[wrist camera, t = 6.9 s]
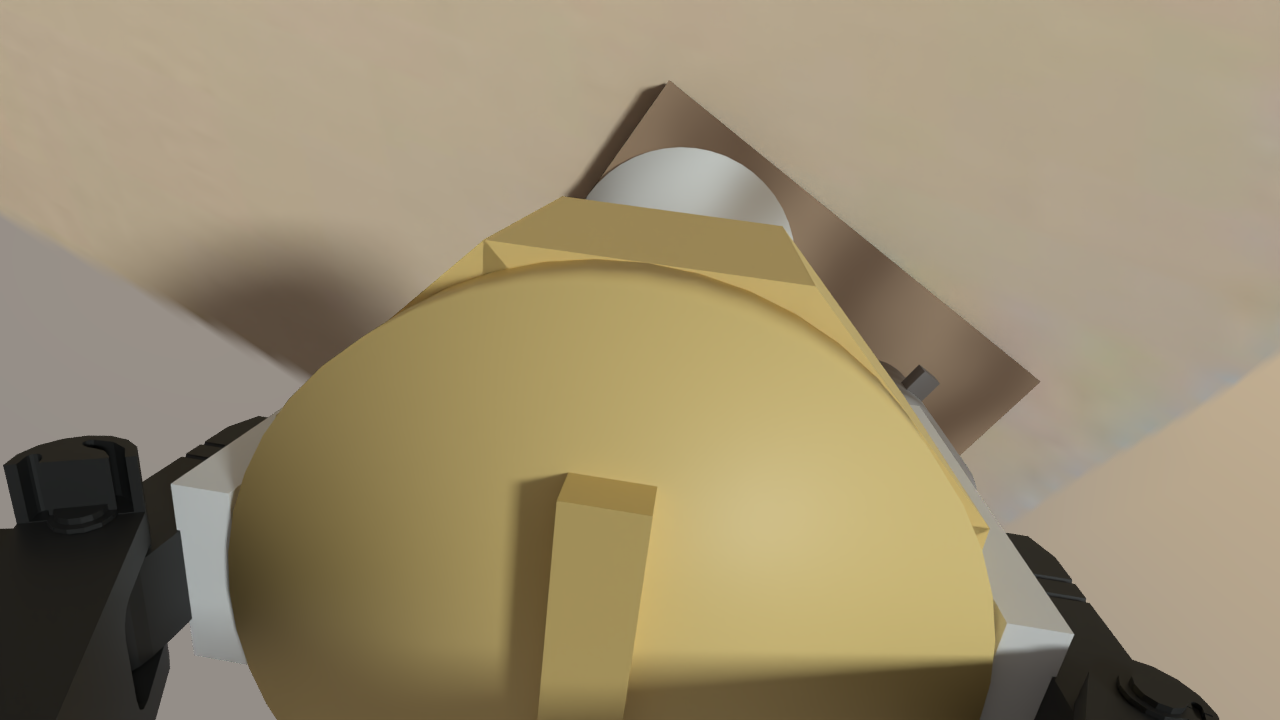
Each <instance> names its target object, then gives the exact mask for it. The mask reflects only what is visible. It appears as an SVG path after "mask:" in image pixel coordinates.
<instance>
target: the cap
mask: <svg viewBox="0 0 1280 720" xmlns="http://www.w3.org/2000/svg"><path fill="white" fill-rule="evenodd" d="M989 530H990V528H989V526H988V525H987V523H986V522H985V520H984V519H983V517H982V516H981V514H980V513H979V511H978V509H977V508H976V506H975V505H974V503H973V502H972V500H971V499H970V497H969V496H968V494H967V492H966V491H965V489H964V488H963V486H962V485H961V483H960V482H959V480H958V479H957V477H956V476H955V474H954V472H953V471H952V469H951V468H950V466H949V465H948V463H947V462H946V460H945V459H944V457H943V455H942V454H941V452H940V451H939V449H938V448H937V446H936V445H935V443H934V442H933V440H932V439H931V437H930V435H929V434H928V432H927V431H926V429H925V428H924V426H923V425H922V423H921V422H920V420H919V418H918V417H917V415H916V414H915V412H914V411H913V409H912V408H911V406H910V405H909V403H908V402H907V400H906V398H905V397H904V395H903V394H902V393H901V391H900V390H899V388H898V387H897V386H896V384H895V383H894V382H893V380H892V379H891V377H890V376H889V375H888V373H887V372H886V370H885V369H884V368H883V366H882V365H881V363H880V362H879V361H878V359H877V358H876V356H875V355H874V354H873V352H872V351H871V349H870V348H869V347H868V345H867V344H866V342H865V341H864V340H863V338H862V337H861V335H860V334H859V333H858V331H857V330H856V328H855V327H854V326H853V324H852V323H851V321H850V320H849V319H848V317H847V316H846V314H845V313H844V312H843V310H842V309H841V307H840V306H839V305H838V303H837V302H836V300H835V299H834V298H833V296H832V295H831V293H830V292H829V291H828V289H827V288H826V286H825V285H824V284H823V282H822V281H821V279H820V278H819V277H818V275H817V274H816V272H815V271H814V270H813V268H812V267H811V265H810V264H809V263H808V261H807V260H806V258H805V257H804V256H803V254H802V253H801V251H800V250H799V249H798V247H797V246H796V244H795V243H794V242H793V240H792V239H791V237H790V236H789V235H788V233H787V232H786V230H785V229H784V228H783V226H777V225H770V224H763V223H755V222H748V221H741V220H733V219H726V218H718V217H711V216H704V215H696V214H689V213H682V212H674V211H667V210H659V209H652V208H645V207H637V206H630V205H623V204H615V203H608V202H600V201H593V200H586V199H578V198H571V197H564V196H562V197H561V198H559V199H557V200H555V201H553V202H551V203H550V204H548V205H546V206H544V207H542V208H541V209H539V210H537V211H535V212H533V213H531V214H530V215H528V216H526V217H524V218H522V219H521V220H519V221H517V222H515V223H513V224H511V225H510V226H508V227H506V228H504V229H502V230H501V231H499V232H497V233H495V234H493V235H491V236H490V237H488V238H486V239H484V240H483V241H482V242H481V243H480V244H478V245H477V246H476V247H475V248H474V249H472V250H471V251H470V252H469V253H468V254H466V255H465V256H464V257H463V258H462V259H461V260H459V261H458V262H457V263H456V264H455V265H453V266H452V267H451V268H450V269H449V270H448V271H446V272H445V273H444V274H443V275H442V276H440V277H439V278H438V279H437V280H436V281H434V282H433V283H432V284H431V285H430V286H429V287H427V288H426V289H425V290H424V291H423V292H421V293H420V294H419V295H418V296H417V297H415V298H414V299H413V300H412V301H411V302H410V303H408V304H407V305H406V306H405V307H404V308H402V309H401V310H400V311H399V312H398V313H397V314H395V315H394V316H393V317H392V318H391V319H389V320H388V321H387V322H385V323H384V324H382V325H381V326H379V327H377V328H376V329H374V330H373V331H371V332H370V333H368V334H366V335H365V336H363V337H362V338H360V339H359V340H358V341H356V342H355V343H353V344H352V345H351V346H349V347H348V348H346V349H345V350H344V351H342V352H341V353H339V354H338V355H337V356H335V357H334V358H333V359H331V360H330V361H328V362H327V363H326V364H324V365H323V366H322V367H321V368H320V369H319V370H318V371H317V372H316V373H315V374H314V375H313V376H312V377H311V378H310V379H309V380H308V381H307V382H306V383H305V384H304V385H303V386H302V387H301V388H300V389H299V390H298V391H297V392H296V393H295V394H294V395H293V396H292V397H290V398H289V400H288V401H287V402H286V404H285V405H284V407H283V408H282V409H281V411H280V412H279V413H278V414H277V415H276V418H275V419H274V421H273V422H272V423H271V425H270V426H269V428H268V429H267V430H266V432H265V433H264V435H263V436H262V438H261V441H260V443H259V445H258V447H257V449H256V451H255V453H254V455H253V457H252V459H251V461H250V463H249V465H248V467H247V469H246V471H245V473H244V477H243V480H242V484H241V487H240V490H239V494H238V497H237V501H236V504H235V507H234V511H233V517H232V525H231V533H230V541H229V549H228V564H229V592H230V597H231V603H232V608H233V614H234V619H235V624H236V630H237V633H238V636H239V639H240V642H241V645H242V648H243V651H244V654H245V657H246V660H247V663H248V666H249V669H250V671H251V673H252V675H253V677H254V679H255V681H256V683H257V685H258V687H259V689H260V691H261V693H262V695H263V698H264V700H265V702H266V704H267V705H268V707H269V708H270V710H271V711H272V713H273V714H274V716H275V717H276V719H277V720H980V717H981V714H982V710H983V707H984V704H985V700H986V697H987V693H988V690H989V687H990V683H991V674H992V665H993V657H994V648H995V626H994V609H993V595H992V591H991V586H990V582H989V578H988V573H987V569H986V565H985V560H984V556H983V552H982V550H983V547H984V544H985V541H986V538H987V535H988V533H989Z"/></svg>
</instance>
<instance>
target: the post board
mask: <svg viewBox="0 0 1280 720" xmlns="http://www.w3.org/2000/svg"><path fill="white" fill-rule="evenodd" d="M586 200H593V201H600V202H608V203H615V204H623V205H630V206H637V207H645V208H652V209H659V210H667V211H674V212H682V213H689V214H696V215H704V216H711V217H718V218H726V219H733V220H741V221H748V222H755V223H763V224H770V225H777V226H783V228H784V229H785V230H786V232H787V233H788V235H789V236H790V237H791V239H792V240H793V242H794V243H795V244H796V246H797V247H798V249H799V250H800V251H801V253H802V254H803V256H804V257H805V258H806V260H807V261H808V263H809V264H810V265H811V267H812V268H813V270H814V271H815V272H816V274H817V275H818V277H819V278H820V279H821V281H822V282H823V284H824V285H825V286H826V288H827V289H828V291H829V292H830V293H831V295H832V296H833V298H834V299H835V300H836V302H837V303H838V305H839V306H840V307H841V309H842V310H843V312H844V313H845V314H846V316H847V317H848V319H849V320H850V321H851V323H852V324H853V326H854V327H855V328H856V330H857V331H858V333H859V334H860V335H861V337H862V338H863V340H864V341H865V342H866V344H867V345H868V347H869V348H870V349H871V351H872V352H873V354H874V355H875V356H876V358H877V359H878V361H879V362H880V363H881V365H882V366H883V368H884V369H885V370H886V372H887V373H888V375H889V376H890V377H891V379H892V380H893V382H894V383H895V384H896V386H897V387H898V388H899V390H900V391H901V393H902V394H903V395H904V397H905V398H906V400H907V402H908V403H909V405H916V406H920V408H921V409H922V410H923V412H924V413H925V415H926V416H927V418H928V419H929V421H930V422H931V424H932V425H933V427H934V428H935V430H936V431H937V433H938V434H939V436H940V437H941V439H942V440H943V441H944V443H945V444H946V446H947V447H948V449H949V450H950V452H951V453H952V455H953V456H954V458H955V459H956V461H957V462H958V464H959V465H960V467H961V468H962V469H963V471H964V472H965V474H966V475H967V477H968V478H969V480H970V481H971V483H972V484H973V486H974V487H975V489H976V485H975V481H974V478H973V476H972V474H971V472H970V470H969V469H968V467H967V466H966V464H965V463H964V461H963V460H962V458H961V457H960V455H961V454H962V453H963V452H964V451H965V450H966V449H967V448H969V447H970V446H971V445H972V444H973V443H974V442H975V441H976V440H977V439H978V438H979V437H981V436H982V435H983V434H984V433H985V432H986V431H987V430H988V429H989V428H990V427H991V426H993V425H994V424H995V423H996V422H997V421H998V420H999V419H1000V418H1001V417H1002V416H1004V415H1005V414H1006V413H1007V412H1008V411H1009V410H1010V409H1011V408H1012V407H1013V406H1014V405H1016V404H1017V403H1018V402H1019V401H1020V400H1021V399H1022V398H1023V397H1024V396H1025V395H1026V394H1028V393H1029V392H1030V391H1031V390H1032V389H1033V388H1034V387H1035V386H1036V385H1037V384H1039V383H1040V381H1039V380H1038V379H1036V378H1035V377H1034V376H1033V375H1032V374H1031V373H1029V372H1028V371H1027V370H1026V369H1024V368H1023V367H1022V366H1021V365H1019V364H1018V363H1017V362H1016V361H1014V360H1013V359H1012V358H1011V357H1010V356H1008V355H1007V354H1006V353H1005V352H1003V351H1002V350H1001V349H1000V348H998V347H997V346H996V345H995V344H994V343H992V342H991V341H990V340H989V339H987V338H986V337H985V336H984V335H982V334H981V333H980V332H979V331H978V330H976V329H975V328H974V327H973V326H971V325H970V324H969V323H968V322H966V321H965V320H964V319H963V318H962V317H960V316H959V315H958V314H957V313H955V312H954V311H953V310H952V309H950V308H949V307H948V306H947V305H945V304H944V303H943V302H942V301H941V300H939V299H938V298H937V297H936V296H934V295H933V294H932V293H931V292H929V291H928V290H927V289H926V288H925V287H923V286H922V285H921V284H920V283H918V282H917V281H916V280H915V279H913V278H912V277H911V276H910V275H909V274H907V273H906V272H905V271H904V270H902V269H901V268H900V267H899V266H897V265H896V264H895V263H894V262H892V261H891V260H890V259H889V258H888V257H886V256H885V255H884V254H883V253H881V252H880V251H879V250H878V249H876V248H875V247H874V246H873V245H872V244H870V243H869V242H868V241H867V240H865V239H864V238H863V237H862V236H860V235H859V234H858V233H857V232H856V231H854V230H853V229H852V228H851V227H849V226H848V225H847V224H846V223H844V222H843V221H842V220H841V219H840V218H838V217H837V216H836V215H835V214H833V213H832V212H831V211H830V210H828V209H827V208H826V207H825V206H823V205H822V204H821V203H820V202H819V201H817V200H816V199H815V198H814V197H812V196H811V195H810V194H809V193H807V192H806V191H805V190H804V189H803V188H801V187H800V186H799V185H798V184H796V183H795V182H794V181H793V180H791V179H790V178H789V177H788V176H787V175H785V174H784V173H783V172H782V171H780V170H779V169H778V168H777V167H775V166H774V165H773V164H772V163H771V162H769V161H768V160H767V159H766V158H764V157H763V156H762V155H761V154H759V153H758V152H757V151H756V150H754V149H753V148H752V147H751V146H750V145H748V144H747V143H746V142H745V141H743V140H742V139H741V138H740V137H738V136H737V135H736V134H735V133H734V132H732V131H731V130H730V129H729V128H727V127H726V126H725V125H724V124H722V123H721V122H720V121H719V120H718V119H716V118H715V117H714V116H713V115H711V114H710V113H709V112H708V111H706V110H705V109H704V108H703V107H701V106H700V105H699V104H698V103H697V102H695V101H694V100H693V99H692V98H690V97H689V96H688V95H687V94H685V93H684V92H683V91H682V90H681V89H679V88H678V87H677V86H676V85H674V84H673V83H672V82H671V81H668V83H667V84H666V86H665V87H664V88H663V90H662V91H661V93H660V94H659V95H658V97H657V98H656V100H655V101H654V103H653V104H652V105H651V107H650V108H649V110H648V111H647V113H646V114H645V115H644V117H643V118H642V120H641V121H640V123H639V124H638V125H637V127H636V128H635V130H634V131H633V132H632V134H631V135H630V137H629V138H628V140H627V141H626V142H625V144H624V145H623V147H622V148H621V150H620V151H619V152H618V154H617V155H616V157H615V158H614V159H613V161H612V162H611V164H610V165H609V167H608V168H607V169H606V171H605V172H604V174H603V175H602V177H601V178H600V179H599V181H598V182H597V184H596V185H595V186H594V188H593V189H592V191H591V192H590V193H589V195H588V196H587V197H586Z"/></svg>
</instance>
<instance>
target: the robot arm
mask: <svg viewBox="0 0 1280 720" xmlns="http://www.w3.org/2000/svg"><path fill="white" fill-rule="evenodd" d="M910 406H911V408H912V409H913V411H914V412H915V414H916V415H917V417H918V418H919V420H920V422H921V423H922V425H923V426H924V428H925V429H926V431H927V432H928V434H929V435H930V437H931V439H932V440H933V442H934V443H935V445H936V446H937V448H938V449H939V451H940V452H941V454H942V455H943V457H944V459H945V460H946V462H947V463H948V465H949V466H950V468H951V469H952V471H953V472H954V474H955V476H956V477H957V479H958V480H959V482H960V483H961V485H962V486H963V488H964V489H965V491H966V492H967V494H968V496H969V497H970V499H971V500H972V502H973V503H974V505H975V506H976V508H977V509H978V511H979V513H980V514H981V516H982V517H983V519H984V520H985V522H986V523H987V525H988V526H989V528H990V530H989V533H988V535H987V538H986V541H985V544H984V547H983V550H982V552H983V556H984V560H985V565H986V569H987V573H988V578H989V582H990V586H991V591H992V595H993V609H994V626H995V648H994V657H993V665H992V674H991V683H990V687H989V690H988V693H987V697H986V700H985V704H984V707H983V710H982V714H981V717H980V720H1219V717H1218V715H1217V714H1216V713H1215V712H1214V711H1213V710H1212V709H1211V707H1210V706H1209V705H1208V704H1207V703H1206V702H1205V701H1204V700H1203V699H1202V698H1201V697H1200V696H1199V695H1198V694H1196V693H1195V692H1193V691H1192V690H1191V689H1190V688H1188V687H1187V686H1185V685H1184V684H1182V683H1181V682H1180V681H1179V680H1177V679H1175V678H1173V677H1171V676H1170V675H1168V674H1166V673H1164V672H1162V671H1160V670H1158V669H1156V668H1154V667H1152V666H1149V665H1146V664H1143V663H1140V662H1137V661H1134V660H1132V659H1131V658H1130V656H1129V655H1128V654H1127V653H1126V651H1125V650H1124V648H1123V647H1122V646H1121V644H1120V643H1119V642H1118V640H1117V639H1116V638H1115V636H1114V635H1113V634H1112V632H1111V631H1110V630H1109V628H1108V627H1107V626H1106V624H1105V623H1104V622H1103V621H1102V619H1101V618H1100V616H1099V615H1098V614H1097V612H1096V611H1095V610H1094V608H1093V607H1092V606H1091V605H1090V603H1086V598H1085V596H1084V595H1083V594H1082V592H1081V591H1080V590H1079V588H1078V587H1077V586H1076V585H1075V584H1072V579H1071V578H1070V576H1069V575H1068V574H1067V572H1066V571H1065V570H1064V569H1063V567H1062V566H1061V564H1059V562H1058V561H1057V559H1056V558H1055V557H1054V556H1053V555H1051V554H1050V553H1049V552H1048V551H1046V550H1045V549H1044V548H1042V547H1041V546H1040V545H1038V544H1037V543H1036V542H1035V541H1033V540H1032V539H1031V538H1029V537H1028V536H1023V535H1016V534H1010V533H1005V531H1004V530H1003V529H1002V527H1001V526H1000V524H999V523H998V521H997V520H996V518H995V517H994V515H993V514H992V512H991V511H990V509H989V508H988V506H987V505H986V503H985V502H984V500H983V499H982V498H981V496H980V495H979V493H978V492H977V490H976V489H975V487H974V486H973V484H972V483H971V481H970V480H969V478H968V477H967V475H966V474H965V472H964V471H963V469H962V468H961V467H960V465H959V464H958V462H957V461H956V459H955V458H954V456H953V455H952V453H951V452H950V450H949V449H948V447H947V446H946V444H945V443H944V441H943V440H942V439H941V437H940V436H939V434H938V433H937V431H936V430H935V428H934V427H933V425H932V424H931V422H930V421H929V419H928V418H927V416H926V415H925V413H924V412H923V410H922V409H921V408H920V406H916V405H910ZM281 409H282V408H281ZM281 409H280V410H278V411H277V412H275V413H274V414H273V415H271V416H270V417H268V418H267V417H261V416H258V417H255V418H252V419H249V420H246V421H243V422H241V423H238V424H235V425H232V426H229V427H227V428H225V429H224V430H222V431H221V432H219V433H218V434H216V435H215V436H213V437H211V438H210V439H208V440H207V441H205V444H204V445H199V446H198V447H196V448H194V449H193V450H191V451H190V452H188V453H187V454H186V457H180V458H179V459H177V460H176V461H174V462H173V463H171V464H170V465H168V466H167V467H165V468H163V469H162V470H160V471H159V472H157V473H156V474H154V475H153V476H151V477H149V478H148V479H146V480H145V481H143V482H142V476H141V470H140V463H139V457H138V450H137V446H135V445H134V444H133V443H131V442H130V441H129V440H126V439H121V438H117V437H113V436H82V437H74V438H66V439H61V440H57V441H53V442H50V443H45V444H42V445H38V446H36V447H33V448H31V449H29V450H27V451H24V452H22V453H19V454H17V455H16V456H15V457H13V458H12V459H11V460H9V461H8V462H7V463H6V464H4V465H3V466H4V470H5V475H6V479H7V484H8V488H9V492H10V496H11V501H12V505H13V509H14V514H15V518H16V522H17V525H16V526H15V527H14V529H0V720H155V719H156V716H157V712H158V709H159V705H160V701H161V698H162V694H163V690H164V687H165V683H166V680H167V676H168V673H169V669H170V660H169V650H168V644H167V643H168V642H169V641H170V640H171V639H172V638H173V637H174V636H175V635H176V634H177V633H178V632H179V631H180V630H181V629H182V628H183V627H184V626H185V625H186V624H187V623H188V622H189V621H190V628H191V635H192V642H193V650H194V655H197V656H203V657H208V658H214V659H219V660H225V661H230V662H236V663H241V664H247V660H246V657H245V654H244V651H243V648H242V645H241V642H240V639H239V636H238V633H237V630H236V624H235V619H234V614H233V608H232V603H231V597H230V592H229V564H228V549H229V541H230V533H231V525H232V517H233V511H234V507H235V504H236V501H237V497H238V494H239V490H240V487H241V484H242V480H243V477H244V473H245V471H246V469H247V467H248V465H249V463H250V461H251V459H252V457H253V455H254V453H255V451H256V449H257V447H258V445H259V443H260V441H261V438H262V436H263V435H264V433H265V432H266V430H267V429H268V428H269V426H270V425H271V423H272V422H273V421H274V419H275V418H276V415H277V414H278V413H279V412H280V411H281Z"/></svg>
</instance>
